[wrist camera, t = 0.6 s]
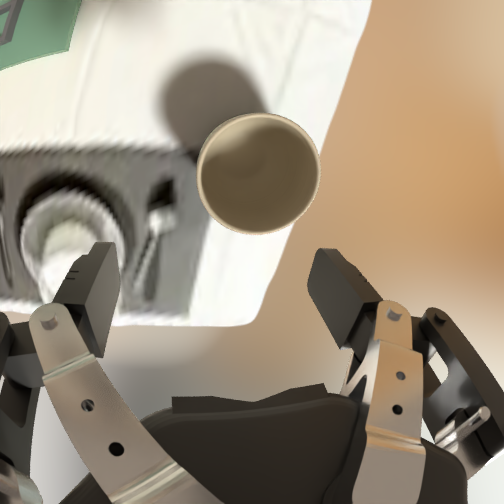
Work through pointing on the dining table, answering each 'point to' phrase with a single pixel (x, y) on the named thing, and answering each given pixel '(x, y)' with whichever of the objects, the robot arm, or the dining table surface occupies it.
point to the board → (35, 29)
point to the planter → (258, 173)
